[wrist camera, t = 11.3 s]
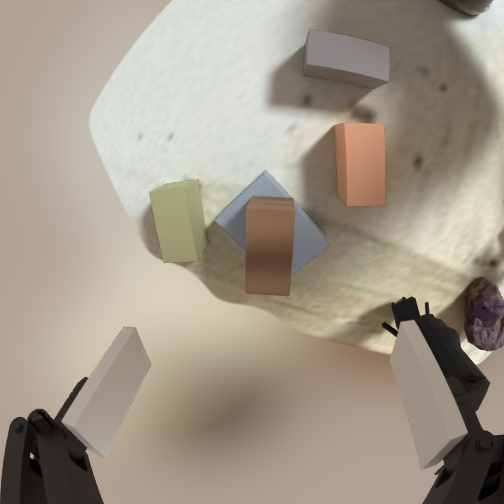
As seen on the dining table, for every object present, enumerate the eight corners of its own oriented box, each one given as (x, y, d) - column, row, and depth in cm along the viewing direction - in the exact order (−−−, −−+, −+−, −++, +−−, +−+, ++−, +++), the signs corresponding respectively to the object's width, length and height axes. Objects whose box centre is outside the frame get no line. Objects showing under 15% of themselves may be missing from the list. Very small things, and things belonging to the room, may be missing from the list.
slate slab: (222, 210, 32) (214, 220, 28) (266, 169, 29) (264, 173, 26) (279, 268, 34) (279, 284, 30) (323, 233, 32) (329, 245, 28)
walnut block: (252, 196, 27) (245, 208, 22) (293, 197, 26) (295, 210, 22) (252, 268, 30) (245, 293, 25) (289, 271, 30) (289, 295, 25)
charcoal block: (302, 75, 25) (306, 64, 20) (304, 44, 23) (309, 28, 18) (373, 89, 24) (389, 81, 20) (374, 58, 22) (389, 47, 18)
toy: (418, 263, 31) (499, 368, 13) (426, 312, 34) (484, 415, 16) (363, 288, 34) (415, 415, 15) (378, 335, 37) (416, 450, 18)
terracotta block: (333, 125, 26) (344, 122, 22) (368, 125, 26) (384, 124, 21) (337, 195, 30) (347, 206, 25) (370, 195, 29) (385, 205, 25)
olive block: (167, 183, 31) (149, 191, 26) (198, 179, 30) (184, 186, 26) (178, 245, 34) (163, 262, 29) (208, 243, 34) (197, 261, 29)
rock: (481, 262, 32) (441, 307, 35) (510, 282, 23) (463, 335, 27) (504, 304, 32) (468, 343, 35) (528, 326, 24) (487, 370, 27)
